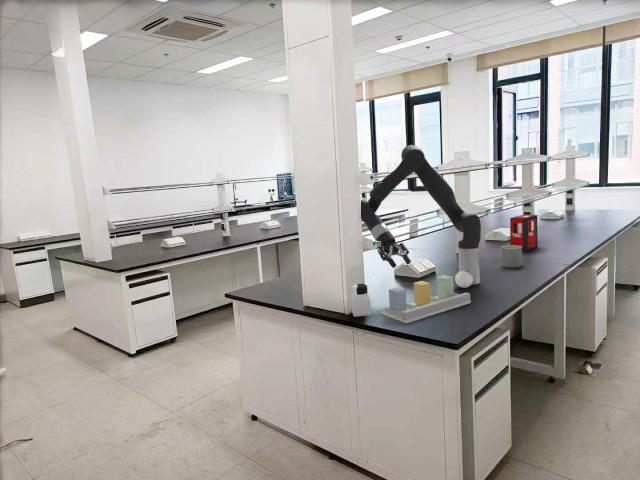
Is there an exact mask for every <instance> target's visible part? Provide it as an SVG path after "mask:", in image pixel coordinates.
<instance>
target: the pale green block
mask: <svg viewBox="0 0 640 480" xmlns="http://www.w3.org/2000/svg"><path fill="white" fill-rule="evenodd" d="M436 292H437V293H436V296H437V297H438V298H441V299H446V298H449V297H453V296H454V293H455V292H454V277H453V276H449V275H445V274H443V275H439V276H436Z"/></svg>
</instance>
